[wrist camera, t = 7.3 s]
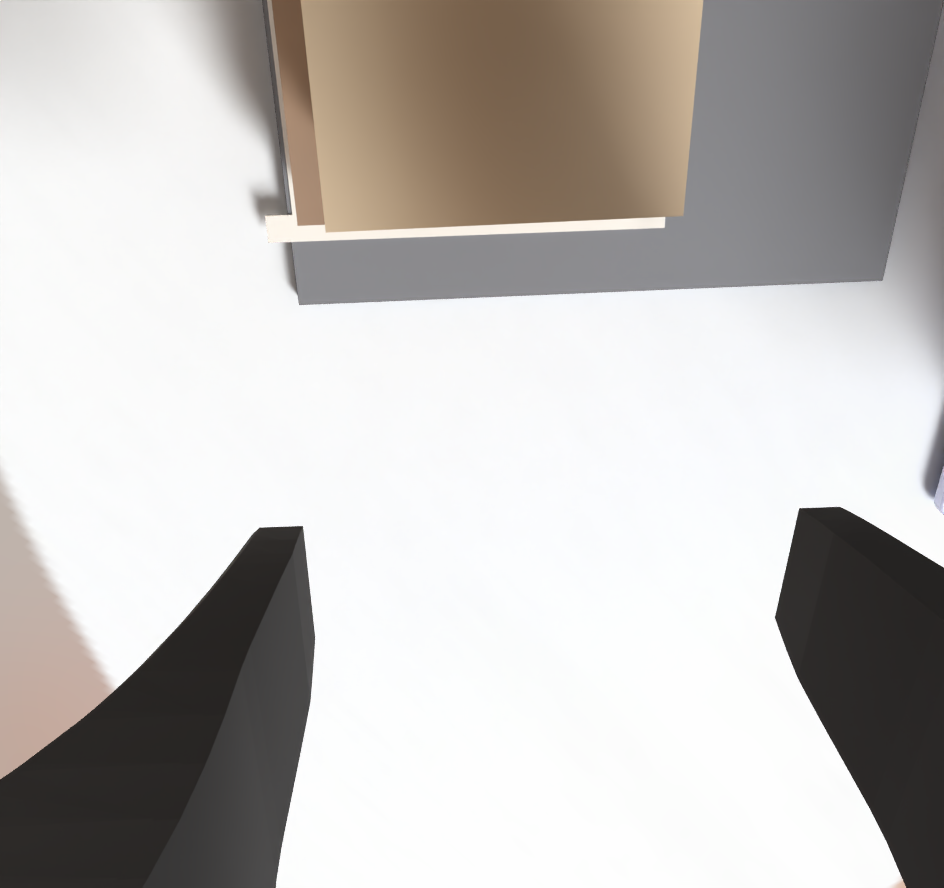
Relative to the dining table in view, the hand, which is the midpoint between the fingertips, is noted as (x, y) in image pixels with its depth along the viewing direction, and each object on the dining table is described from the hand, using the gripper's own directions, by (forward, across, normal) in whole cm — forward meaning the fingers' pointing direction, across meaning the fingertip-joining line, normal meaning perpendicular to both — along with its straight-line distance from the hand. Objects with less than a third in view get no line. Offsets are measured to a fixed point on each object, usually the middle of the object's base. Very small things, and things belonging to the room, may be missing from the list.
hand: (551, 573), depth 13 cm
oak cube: (+7, +1, -7) cm, 10 cm away
